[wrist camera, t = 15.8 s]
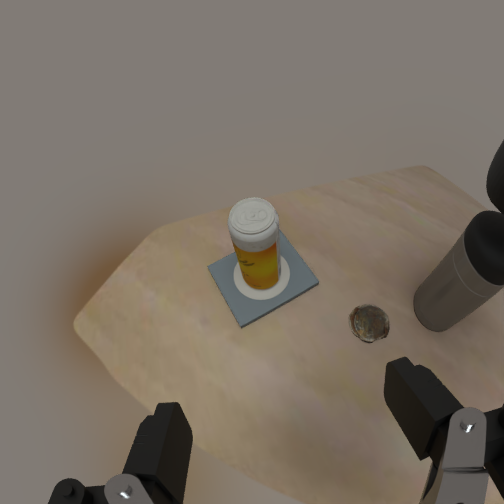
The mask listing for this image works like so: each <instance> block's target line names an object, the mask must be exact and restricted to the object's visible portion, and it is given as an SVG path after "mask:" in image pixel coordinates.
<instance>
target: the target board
mask: <svg viewBox="0 0 504 504" xmlns="http://www.w3.org/2000/svg"><path fill="white" fill-rule="evenodd" d="M279 233H280V256H281V276H280V279H279V280H278V282H277V283H276V284H275V285H274V286H272V287H270V288H268V289H262V290H260V289H254V288H252V287H250V286H249V285H247V284H246V282H245V281H244V279H243V276H242V273H241V269H240V266H239V263H238V259H237V256H236V253H235V252H234V253H232V254H230V255H228V256H226V257H224V258H222V259H220V260H219V261H217V262H215V263H213V264H211V265H209V266H207V267H208V269H209V270H210V272H211V274H212V276H213V278H214V280H215V282H216V284H217V285H218V287H219V289H220V291H221V293H222V295H223V296H224V298H225V300H226V302H227V304H228V305H229V307H230V309H231V311H232V313H233V314H234V316H235V318H236V320H237V321H238V323H239V325H240V327H241V328H243V327H245V326H247V325H249V324H250V323H252V322H254V321H256V320H258V319H259V318H261V317H263V316H265V315H267V314H268V313H270V312H272V311H274V310H275V309H277V308H279V307H281V306H282V305H284V304H286V303H288V302H289V301H291V300H293V299H294V298H296V297H298V296H300V295H301V294H303V293H305V292H306V291H308V290H310V289H311V288H313V287H315V286H316V285H318V284H319V281H318V279H317V278H316V277H315V275H314V274H313V273H312V271H311V270H310V269H309V267H308V266H307V265H306V263H305V262H304V261H303V259H302V258H301V257H300V255H299V254H298V253H297V251H296V250H295V249H294V247H293V246H292V245H291V243H290V242H289V241H288V240H287V238H286V237H285V236H284V234H283V233H282V232H281V231H280V229H279Z"/></svg>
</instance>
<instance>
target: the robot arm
mask: <svg viewBox="0 0 504 504" xmlns="http://www.w3.org/2000/svg"><path fill="white" fill-rule="evenodd" d="M486 188H487V193H488V196H489V198H490V200H491V202H492V203H493V204H494V205H495V206H496V208H497V209H498V210H499V211H500V212H501V213H499V212H495V211H483V212H480V213H479V214H477V215H476V216H475V217H474V218H473V219H472V221H471V222H470V223H469V225H468V226H467V228H466V229H465V231H464V232H463V234H462V235H461V236H460V238H459V239H458V240H457V242H456V243H455V244H454V246H453V247H452V248H451V250H450V251H449V252H448V253H447V255H446V256H445V257H444V259H443V260H442V261H441V262H440V263H439V265H438V266H437V267H436V268H435V269H434V271H433V272H432V273H431V274H430V275H429V276H428V278H427V279H426V280H425V281H424V282H423V283H422V285H421V286H420V287H419V288H418V290H417V291H416V294H415V297H414V308H415V312H416V315H417V317H418V319H419V321H420V322H421V323H422V324H423V325H424V326H425V327H426V328H428V329H430V330H432V331H437V332H439V331H444V330H447V329H448V328H450V327H451V326H453V325H454V324H456V323H457V322H459V321H460V320H462V319H463V318H465V317H466V316H468V315H469V314H470V313H472V312H473V311H474V310H476V309H477V308H478V307H480V306H481V305H482V304H484V303H485V302H486V301H488V300H489V299H490V298H491V297H493V296H494V295H495V294H496V293H497V292H499V291H500V290H501V289H502V288H503V287H504V141H503V142H502V144H501V145H500V147H499V149H498V151H497V152H496V154H495V157H494V159H493V161H492V163H491V165H490V168H489V171H488V175H487V185H486ZM384 398H385V401H386V404H387V406H388V407H389V409H390V411H391V412H392V414H393V416H394V417H395V419H396V421H397V422H398V424H399V426H400V427H401V429H402V431H403V432H404V434H405V436H406V437H407V439H408V441H409V442H410V444H411V446H412V448H413V449H414V451H415V453H416V454H417V456H418V458H419V460H420V461H421V460H423V459H425V458H427V457H429V456H430V458H431V459H432V463H431V466H430V470H429V474H428V477H427V480H426V484H425V487H424V490H423V493H422V496H421V499H420V502H419V504H484V501H485V496H486V490H487V484H488V476H489V475H490V477H491V478H492V480H493V482H494V484H495V485H496V487H497V489H498V491H499V492H500V494H501V496H502V498H503V499H504V404H503V406H502V407H501V408H498V409H495V410H492V411H488V412H485V413H483V412H481V411H480V410H478V409H476V408H470V407H469V408H464V407H463V406H462V405H461V404H460V402H459V401H458V400H457V399H456V398H455V397H454V396H453V395H452V393H451V392H450V391H449V390H448V389H447V388H446V387H445V386H444V385H443V384H442V382H441V381H440V380H439V379H437V377H436V376H435V375H434V374H433V372H432V371H431V370H430V369H428V368H426V367H424V366H422V365H420V364H419V365H416V366H414V365H413V364H412V363H411V361H410V360H409V359H408V358H407V357H402V358H399V359H397V360H394V361H391V362H388V363H387V365H386V374H385V384H384ZM192 442H193V435H192V430H191V427H190V425H189V423H188V421H187V419H186V417H185V415H184V413H183V410H182V408H181V406H180V404H179V403H178V402H170V403H158V405H157V407H156V410H155V413H154V415H150V416H147V417H146V418H145V419H144V421H143V422H142V423H141V424H140V426H139V429H138V431H137V436H136V437H135V440H134V444H133V445H132V447H131V450H130V453H129V456H128V459H127V461H126V464H125V467H124V469H123V472H122V474H119V475H116V476H114V477H112V478H111V479H110V480H109V481H108V482H107V483H106V485H103V486H92V487H85V486H84V485H83V484H82V483H81V482H79V481H78V480H76V479H72V478H70V479H69V478H68V479H64V480H62V481H60V482H59V483H58V484H57V485H56V486H55V488H54V490H53V492H52V495H51V497H50V500H49V502H48V504H183V499H184V492H185V485H186V478H187V473H188V466H189V460H190V454H191V448H192ZM484 467H485V468H486V469H484Z"/></svg>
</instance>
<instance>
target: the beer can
mask: <svg viewBox="0 0 504 504" xmlns="http://www.w3.org/2000/svg"><path fill="white" fill-rule="evenodd" d="M228 229H229V232H230V236H231V239H232V242H233V246H234V249H235V253H236V256H237V259H238V263H239V266H240V269H241V273H242V276H243V279H244V281H245V282H246V284H247V285H249V286H250V287H252V288H254V289H260V290H262V289H268V288H270V287H272V286H274V285H275V284H276V283H277V282H278V280H279V279H280V276H281V256H280V233H279V217H278V214H277V212H276V210H275V209H274V208H273V206H272V205H271V204H270V203H269V202H268V201H266V200H264V199H261V198H247V199H244V200H242V201H240V202H238V203H237V204H235V205H234V206H233V208H232V209H231V211H230V215H229V218H228Z"/></svg>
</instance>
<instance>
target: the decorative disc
mask: <svg viewBox="0 0 504 504" xmlns="http://www.w3.org/2000/svg"><path fill="white" fill-rule="evenodd" d="M349 326H350V328H351V330H352V332H353V334H354V335H355V336H356V337H359V338H360V339H361V340H362V341H365V342H368V343H372V342H373V341H375V340H377V339H379V338H383V337H384V338H385V337H387V334H388V332H389V320H388V317H387V315H386V314H385V313H384V312H383V311H382V310H381V309H380V308H378V307H376V306H373V305H362V306H361V307H360V306H359V307H356V308H355V309H354V310H353V311H352V313H351V314H350V315H349ZM357 335H358V336H357Z"/></svg>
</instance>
